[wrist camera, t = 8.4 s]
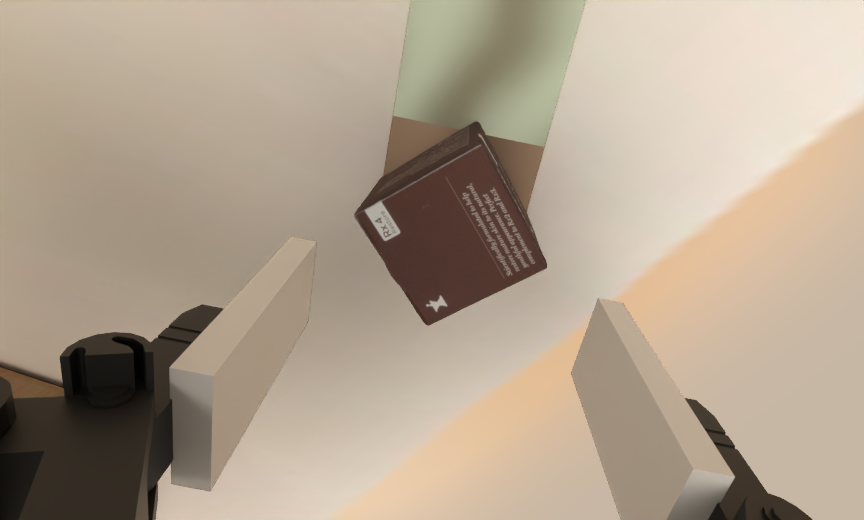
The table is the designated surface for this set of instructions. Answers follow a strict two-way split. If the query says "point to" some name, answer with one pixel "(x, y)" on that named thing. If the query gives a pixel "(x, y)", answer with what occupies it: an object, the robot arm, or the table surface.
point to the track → (483, 78)
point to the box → (451, 226)
